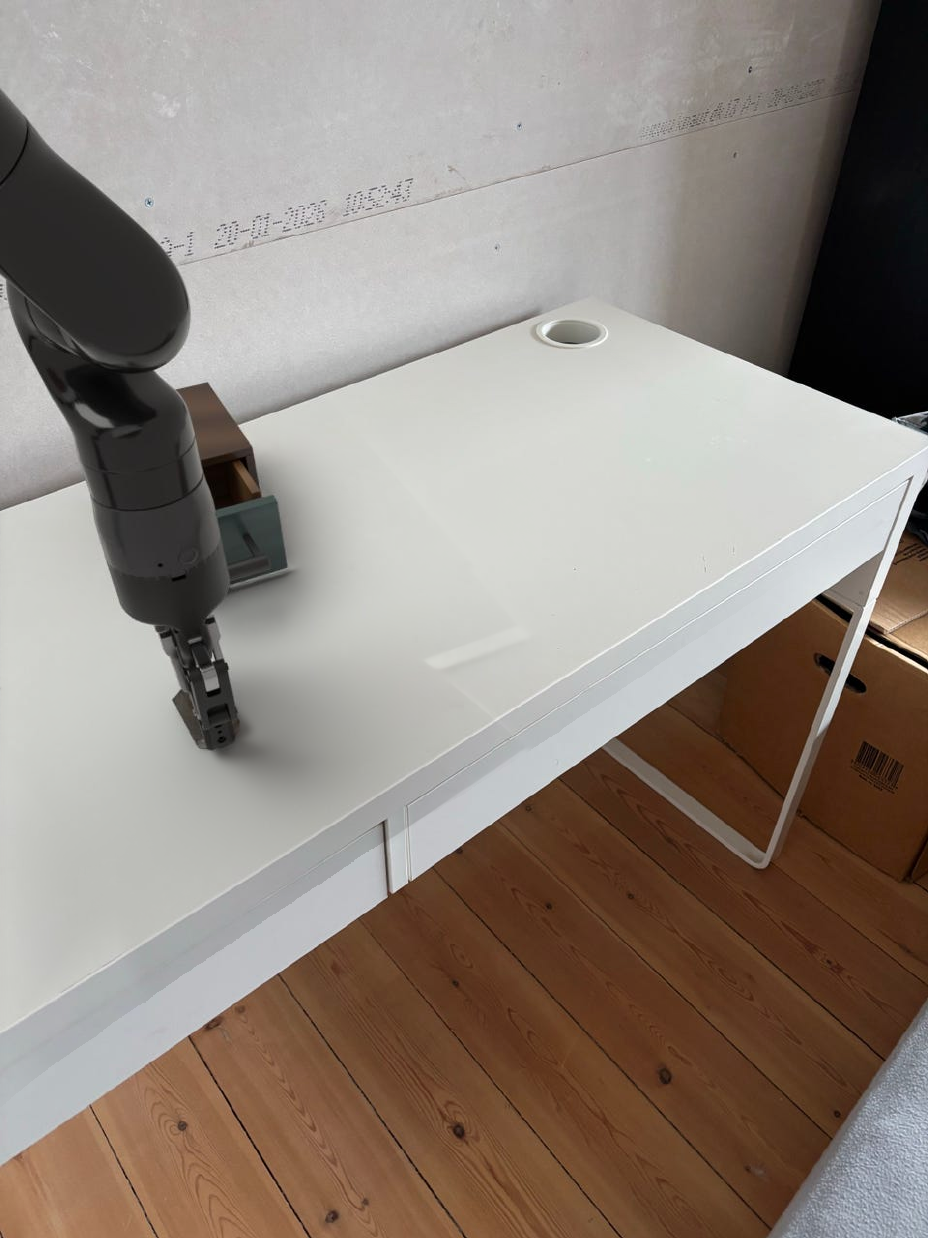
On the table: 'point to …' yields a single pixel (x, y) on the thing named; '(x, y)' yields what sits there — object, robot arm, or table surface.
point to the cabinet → (216, 429)
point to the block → (193, 717)
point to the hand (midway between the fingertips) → (208, 714)
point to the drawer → (245, 522)
